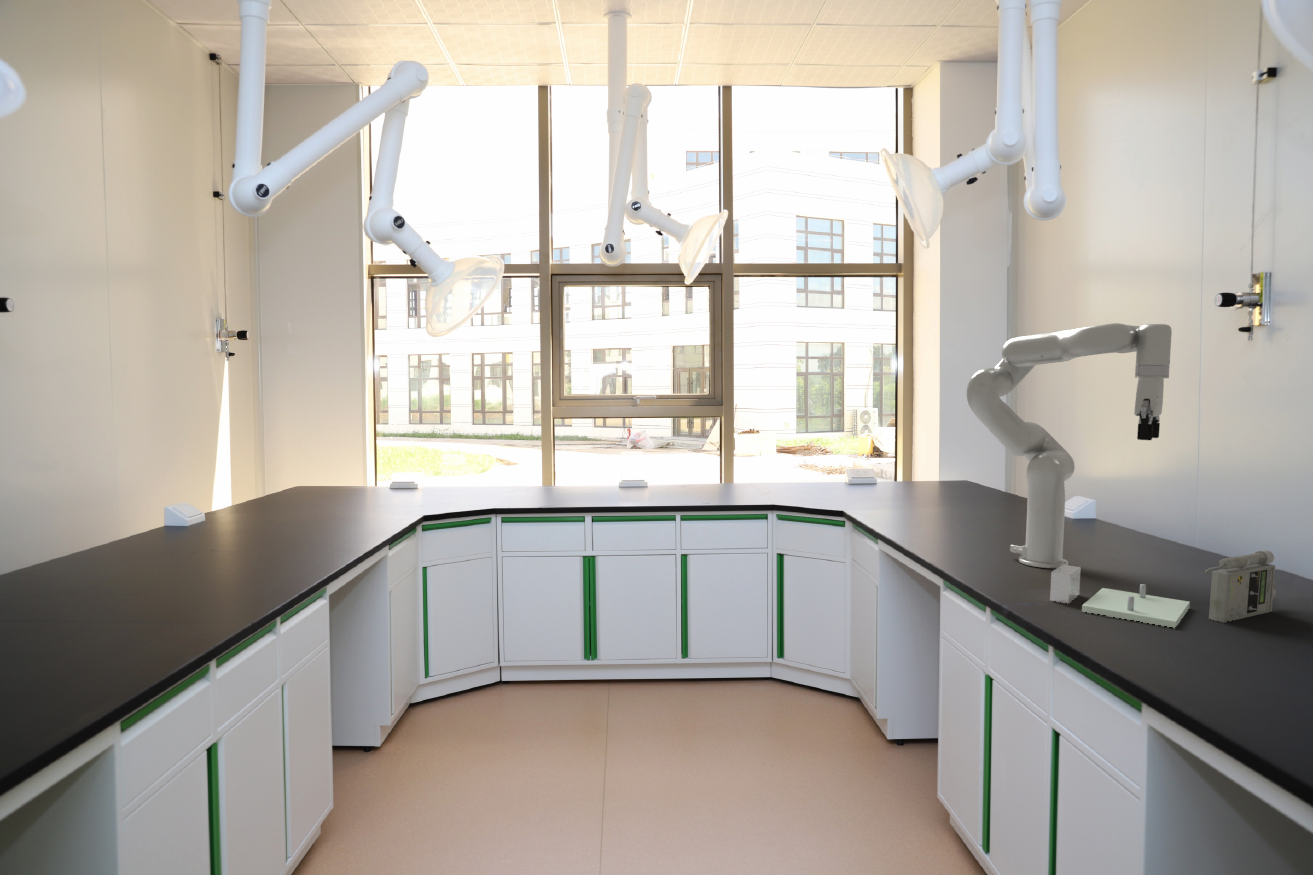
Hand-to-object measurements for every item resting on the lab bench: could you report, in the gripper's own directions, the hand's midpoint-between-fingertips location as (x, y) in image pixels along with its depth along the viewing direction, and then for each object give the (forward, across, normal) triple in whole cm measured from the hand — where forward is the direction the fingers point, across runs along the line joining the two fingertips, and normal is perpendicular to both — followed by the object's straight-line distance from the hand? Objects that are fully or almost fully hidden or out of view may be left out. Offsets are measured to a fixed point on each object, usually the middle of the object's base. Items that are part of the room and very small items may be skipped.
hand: (1148, 438), depth 214 cm
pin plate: (+37, +34, +5) cm, 50 cm away
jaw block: (+37, +34, -10) cm, 51 cm away
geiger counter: (+37, +20, +24) cm, 48 cm away
